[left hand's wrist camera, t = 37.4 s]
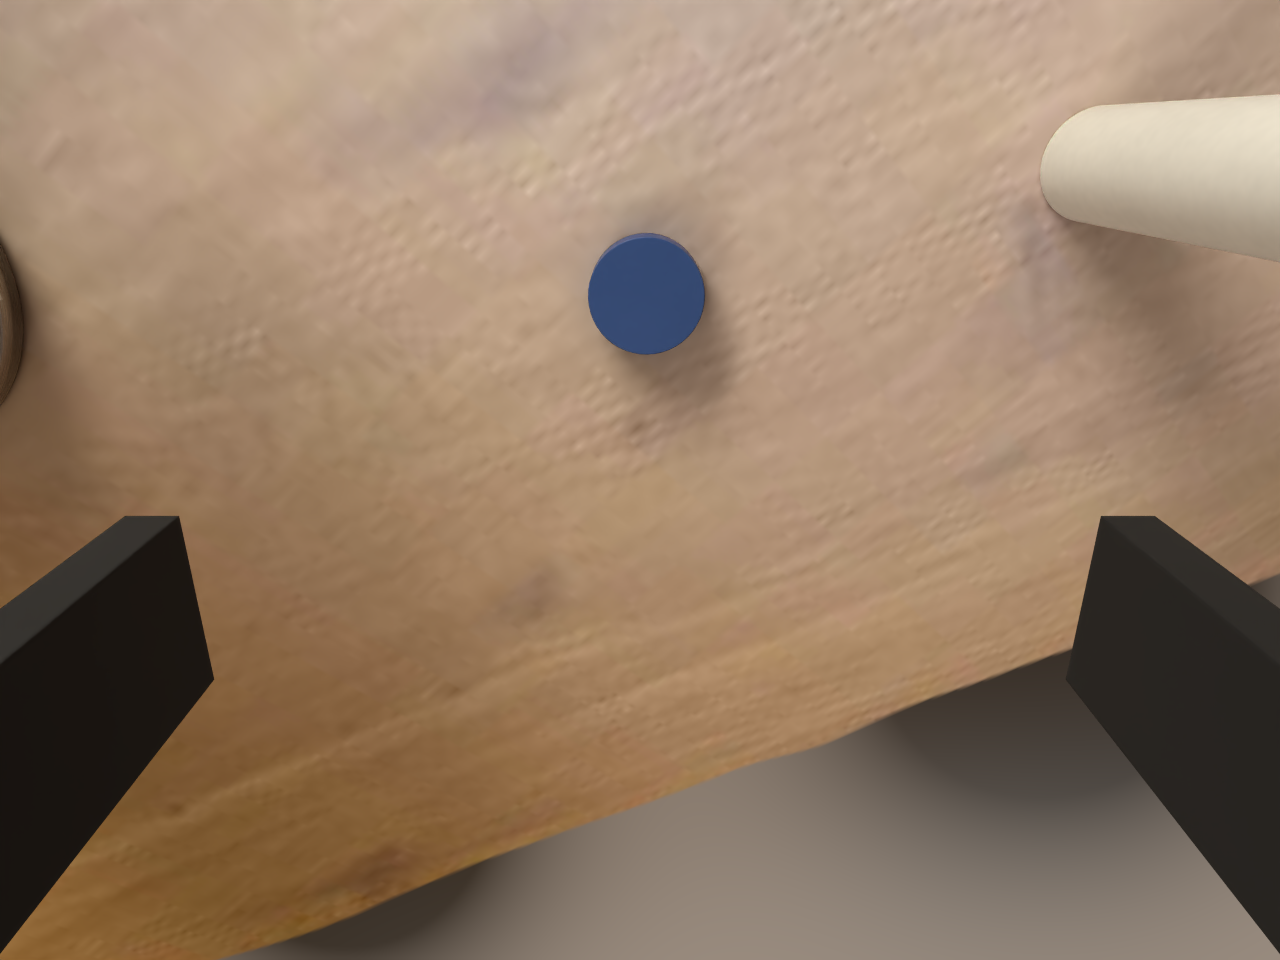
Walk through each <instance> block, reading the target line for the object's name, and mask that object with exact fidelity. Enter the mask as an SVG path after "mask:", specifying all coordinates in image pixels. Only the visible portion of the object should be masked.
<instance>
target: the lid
mask: <svg viewBox="0 0 1280 960" xmlns="http://www.w3.org/2000/svg"><path fill="white" fill-rule="evenodd" d="M704 300H705V291H704V284H703V280H702V276H701V273H700V271H699V269H698V267H697V265H696V263H695V261H694V259H693V258H692V256H691V255H690V254H689V253H688V251H687V250H686V249H685V248H684V247H682V246H681V245H680V244H679V243H677V242H676V241H674V240H672V239H670V238H668V237H665V236H662V235H658V234H653V233H641V234H634V235H630V236H627V237H625V238H623V239H621V240H619V241H617V242H615V243H614V244H613V245H611V246H610V247H609V248H608V249H607V250H606V251H605V252H604V253H603V255H602V256H601V257H600V259H599V260H598V262H597V264H596V266H595V268H594V270H593V273H592V276H591V280H590V283H589V290H588V301H589V308H590V312H591V315H592V318H593V320H594V322H595V324H596V326H597V328H598V329H599V330H600V332H601V333H602V334H603V335H604V336H605V338H606V339H608V340H609V341H610V342H611V343H612V344H614V345H616V346H617V347H619V348H621V349H623V350H625V351H628V352H632V353H636V354H656V353H661V352H664V351H667V350H670V349H672V348H674V347H676V346H677V345H679V344H680V343H682V342H683V341H684V340H685V339H686V338H687V337H688V336H689V335H690V334H691V333H692V332H693V330H694V329H695V327H696V326H697V324H698V322H699V320H700V318H701V315H702V312H703V307H704Z"/></svg>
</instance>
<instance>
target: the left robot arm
mask: <svg viewBox="0 0 1280 960" xmlns="http://www.w3.org/2000/svg"><path fill="white" fill-rule="evenodd" d="M22 344H23V320H22V309H21V303H20V298H19V293H18V289H17V286H16V282H15V279H14V275H13V272H12V270H11V267H10V265H9V262H8V259H7V257H6V255H5V253H4V251H3V249H2V246H1V244H0V405H1V403H2V402H3V401H4V399H5V398H6V396H7V394H8V392H9V390H10V388H11V386H12V384H13V382H14V379H15V376H16V374H17V371H18V367H19V363H20V359H21V352H22ZM213 680H214V676H213V672H212V667H211V662H210V658H209V653H208V649H207V644H206V639H205V635H204V630H203V625H202V621H201V616H200V611H199V607H198V602H197V597H196V593H195V588H194V584H193V579H192V574H191V570H190V565H189V560H188V556H187V551H186V546H185V542H184V537H183V532H182V528H181V523H180V519H179V516H125V517H123V518H122V519H121V520H119V521H118V522H117V523H115V524H114V525H112V526H111V527H110V528H108V529H107V530H106V531H104V532H103V533H102V534H100V535H99V536H98V537H96V538H95V539H94V540H92V541H91V542H90V543H88V544H87V545H86V546H84V547H83V548H82V549H80V550H79V551H77V552H76V553H75V554H73V555H72V556H71V557H69V558H68V559H67V560H65V561H64V562H63V563H61V564H60V565H59V566H57V567H56V568H55V569H53V570H52V571H51V572H49V573H48V574H47V575H45V576H44V577H42V578H41V579H40V580H38V581H37V582H36V583H34V584H33V585H32V586H30V587H29V588H28V589H26V590H25V591H24V592H22V593H21V594H20V595H18V596H17V597H16V598H14V599H13V600H11V601H10V602H9V603H7V604H6V605H5V606H3V607H2V608H1V609H0V953H1V952H2V951H3V949H4V948H5V947H6V946H7V944H8V943H9V942H10V940H11V939H12V938H13V937H14V935H15V934H16V933H17V932H18V930H19V929H20V928H21V926H22V925H23V924H24V923H25V921H26V920H27V919H28V917H29V916H30V915H31V914H32V912H33V911H34V910H35V908H36V907H37V906H38V905H39V903H40V902H41V901H42V899H43V898H44V897H45V896H46V894H47V893H48V892H49V891H50V889H51V888H52V887H53V885H54V884H55V883H56V882H57V880H58V879H59V878H60V876H61V875H62V874H63V873H64V871H65V870H66V869H67V867H68V866H69V865H70V864H71V862H72V861H73V860H74V858H75V857H76V856H77V855H78V853H79V852H80V851H81V850H82V848H83V847H84V846H85V844H86V843H87V842H88V841H89V839H90V838H91V837H92V835H93V834H94V833H95V832H96V830H97V829H98V828H99V826H100V825H101V824H102V823H103V821H104V820H105V819H106V817H107V816H108V815H109V814H110V812H111V811H112V810H113V809H114V807H115V806H116V805H117V803H118V802H119V801H120V800H121V798H122V797H123V796H124V794H125V793H126V792H127V791H128V789H129V788H130V787H131V785H132V784H133V783H134V782H135V780H136V779H137V778H138V776H139V775H140V774H141V773H142V771H143V770H144V769H145V767H146V766H147V765H148V764H149V762H150V761H151V760H152V759H153V757H154V756H155V755H156V753H157V752H158V751H159V750H160V748H161V747H162V746H163V744H164V743H165V742H166V741H167V739H168V738H169V737H170V735H171V734H172V733H173V732H174V730H175V729H176V728H177V726H178V725H179V724H180V723H181V721H182V720H183V719H184V718H185V716H186V715H187V714H188V712H189V711H190V710H191V709H192V707H193V706H194V705H195V703H196V702H197V701H198V700H199V698H200V697H201V696H202V694H203V693H204V692H205V691H206V689H207V688H208V687H209V685H210V684H211V683H212V682H213ZM1066 680H1067V682H1068V683H1069V684H1070V685H1071V687H1072V688H1073V689H1074V691H1075V692H1076V693H1077V694H1078V696H1079V697H1080V698H1081V699H1082V701H1083V702H1084V703H1085V705H1086V706H1087V707H1088V709H1089V710H1090V711H1091V712H1092V714H1093V715H1094V716H1095V718H1096V719H1097V720H1098V721H1099V723H1100V724H1101V725H1102V726H1103V728H1104V729H1105V730H1106V732H1107V733H1108V734H1109V735H1110V737H1111V738H1112V739H1113V741H1114V742H1115V743H1116V744H1117V746H1118V747H1119V748H1120V750H1121V751H1122V752H1123V753H1124V755H1125V756H1126V757H1127V758H1128V760H1129V761H1130V762H1131V764H1132V765H1133V766H1134V767H1135V769H1136V770H1137V771H1138V773H1139V774H1140V775H1141V776H1142V778H1143V779H1144V780H1145V782H1146V783H1147V784H1148V785H1149V787H1150V788H1151V789H1152V791H1153V792H1154V793H1155V794H1156V796H1157V797H1158V798H1159V800H1160V801H1161V802H1162V803H1163V805H1164V806H1165V807H1166V809H1167V810H1168V811H1169V812H1170V814H1171V815H1172V816H1173V817H1174V819H1175V820H1176V821H1177V823H1178V824H1179V825H1180V826H1181V828H1182V829H1183V830H1184V832H1185V833H1186V834H1187V835H1188V837H1189V838H1190V839H1191V841H1192V842H1193V843H1194V844H1195V846H1196V847H1197V848H1198V850H1199V851H1200V852H1201V853H1202V855H1203V856H1204V857H1205V858H1206V860H1207V861H1208V862H1209V863H1210V865H1211V866H1212V867H1213V869H1214V870H1215V871H1216V873H1217V874H1218V875H1219V876H1220V878H1221V879H1222V880H1223V882H1224V883H1225V884H1226V885H1227V887H1228V888H1229V889H1230V890H1231V892H1232V893H1233V894H1234V896H1235V897H1236V898H1237V899H1238V901H1239V902H1240V903H1241V904H1242V906H1243V907H1244V908H1245V910H1246V911H1247V912H1248V914H1249V915H1250V916H1251V917H1252V919H1253V920H1254V921H1255V923H1256V924H1257V925H1258V926H1259V928H1260V929H1261V930H1262V932H1263V933H1264V934H1265V935H1266V937H1267V938H1268V939H1269V940H1270V942H1271V943H1272V944H1273V946H1274V947H1275V948H1276V949H1277V951H1278V952H1279V953H1280V609H1279V608H1278V607H1277V606H1275V605H1274V604H1273V603H1271V602H1270V601H1269V600H1267V599H1266V598H1264V597H1263V596H1262V595H1260V594H1259V593H1258V592H1256V591H1255V590H1254V589H1252V588H1251V587H1250V586H1248V585H1247V584H1246V583H1244V582H1243V581H1242V580H1240V579H1239V578H1238V577H1236V576H1235V575H1233V574H1232V573H1231V572H1229V571H1228V570H1227V569H1225V568H1224V567H1223V566H1221V565H1220V564H1219V563H1217V562H1216V561H1215V560H1213V559H1212V558H1211V557H1209V556H1208V555H1207V554H1205V553H1204V552H1203V551H1201V550H1200V549H1198V548H1197V547H1196V546H1194V545H1193V544H1192V543H1190V542H1189V541H1188V540H1186V539H1185V538H1184V537H1182V536H1181V535H1180V534H1178V533H1177V532H1176V531H1174V530H1173V529H1172V528H1170V527H1169V526H1168V525H1166V524H1165V523H1163V522H1162V521H1161V520H1159V519H1158V518H1157V517H1155V516H1101V518H1100V523H1099V528H1098V532H1097V537H1096V542H1095V546H1094V551H1093V556H1092V560H1091V565H1090V570H1089V574H1088V579H1087V584H1086V588H1085V593H1084V597H1083V602H1082V607H1081V611H1080V616H1079V621H1078V625H1077V630H1076V635H1075V639H1074V644H1073V649H1072V653H1071V658H1070V663H1069V667H1068V672H1067V676H1066Z"/></svg>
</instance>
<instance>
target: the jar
mask: <svg viewBox="0 0 1280 960" xmlns="http://www.w3.org/2000/svg"><path fill="white" fill-rule="evenodd" d="M1040 180H1041V187H1042V191H1043V194H1044V196H1045V198H1046V200H1047V202H1048V203H1049V205H1050V206H1051V207H1052V208H1053V209H1054V210H1055V211H1056V212H1057V213H1058V214H1060V215H1061V216H1063V217H1065V218H1067V219H1069V220H1073V221H1077V222H1082V223H1087V224H1092V225H1097V226H1102V227H1107V228H1112V229H1117V230H1121V231H1126V232H1131V233H1136V234H1141V235H1146V236H1151V237H1156V238H1161V239H1166V240H1171V241H1176V242H1181V243H1186V244H1191V245H1196V246H1201V247H1206V248H1211V249H1216V250H1221V251H1226V252H1231V253H1236V254H1241V255H1246V256H1251V257H1256V258H1261V259H1266V260H1271V261H1276V262H1280V94H1276V95H1260V96H1244V97H1228V98H1212V99H1195V100H1179V101H1163V102H1147V103H1131V104H1114V105H1101V106H1095V107H1091V108H1088V109H1085V110H1083V111H1081V112H1079V113H1077V114H1075V115H1074V116H1072V117H1071V118H1070V119H1068V120H1067V121H1066V122H1065V123H1064V124H1063V125H1061V127H1060V128H1059V129H1058V130H1057V131H1056V132H1055V134H1054V135H1053V137H1052V138H1051V140H1050V141H1049V143H1048V145H1047V147H1046V149H1045V152H1044V155H1043V158H1042V162H1041V168H1040Z"/></svg>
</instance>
